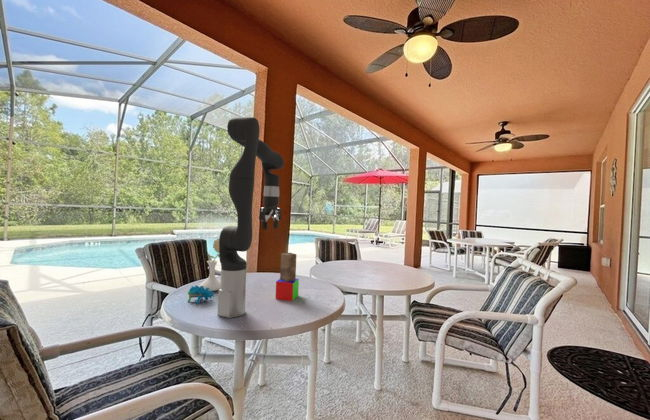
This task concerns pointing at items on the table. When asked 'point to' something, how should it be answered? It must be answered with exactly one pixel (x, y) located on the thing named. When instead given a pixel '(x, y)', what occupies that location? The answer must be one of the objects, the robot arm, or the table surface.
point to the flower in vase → (212, 272)
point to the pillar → (288, 267)
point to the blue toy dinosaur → (199, 293)
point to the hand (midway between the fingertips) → (270, 229)
